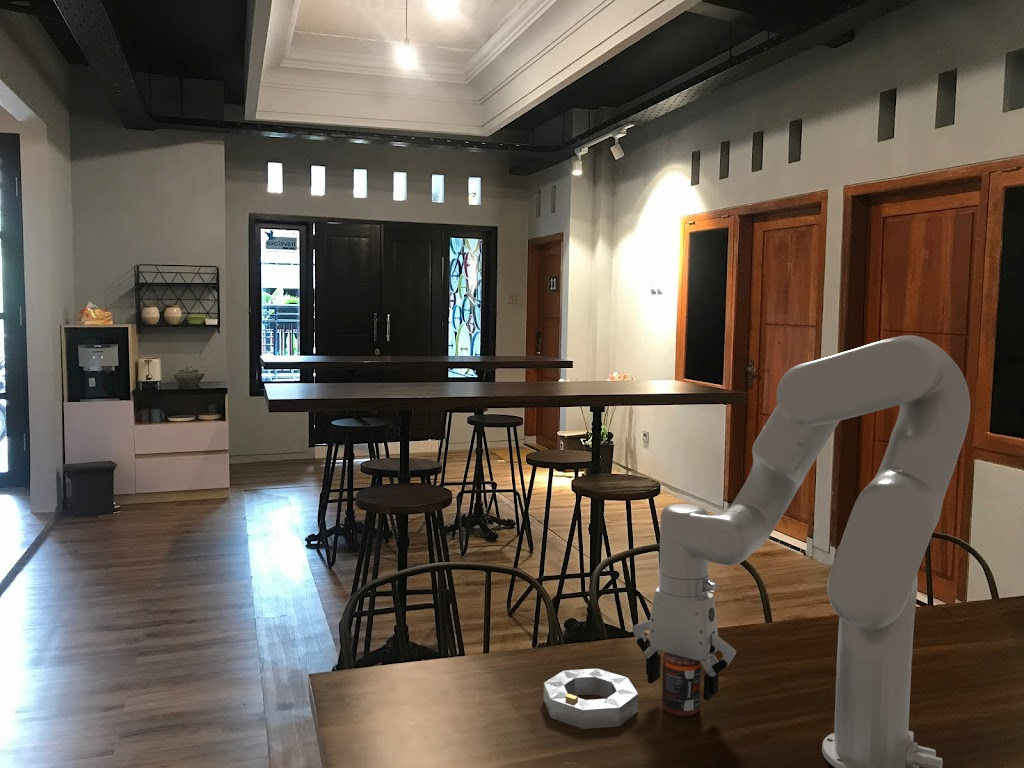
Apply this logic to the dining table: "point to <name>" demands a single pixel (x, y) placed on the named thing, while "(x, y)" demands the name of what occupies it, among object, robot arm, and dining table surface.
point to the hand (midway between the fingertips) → (681, 688)
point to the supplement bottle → (681, 685)
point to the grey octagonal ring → (590, 711)
